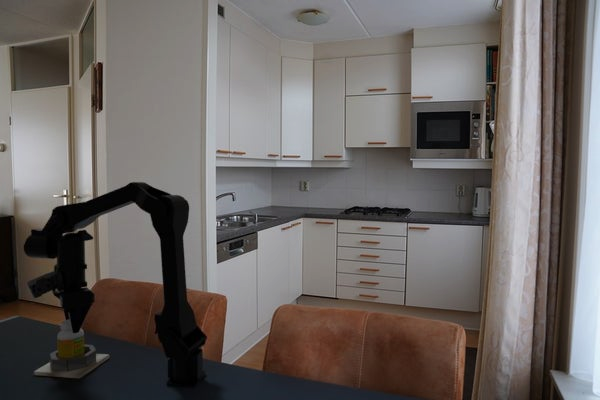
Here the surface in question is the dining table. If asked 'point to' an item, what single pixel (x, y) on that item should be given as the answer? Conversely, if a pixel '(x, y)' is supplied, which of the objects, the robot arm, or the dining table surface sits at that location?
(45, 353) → the dining table surface
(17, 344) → the dining table surface
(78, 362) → the collar
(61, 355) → the supplement bottle
